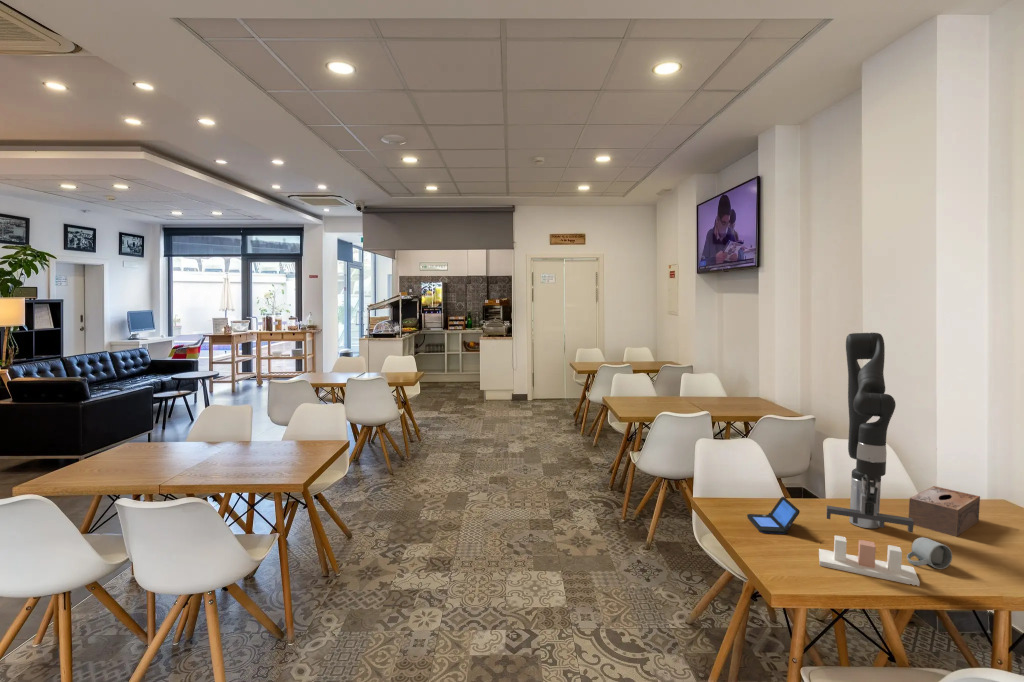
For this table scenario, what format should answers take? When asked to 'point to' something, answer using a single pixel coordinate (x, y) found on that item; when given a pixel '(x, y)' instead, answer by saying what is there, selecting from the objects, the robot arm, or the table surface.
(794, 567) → the table surface
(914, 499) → the tissue box cover
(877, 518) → the gray bar
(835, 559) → the display stand
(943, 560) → the ceramic mug
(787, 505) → the handheld game console
